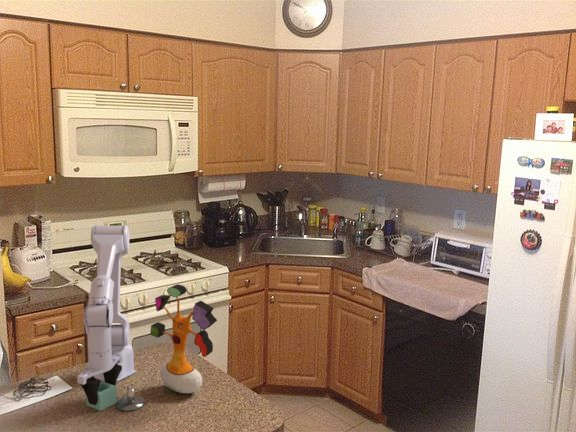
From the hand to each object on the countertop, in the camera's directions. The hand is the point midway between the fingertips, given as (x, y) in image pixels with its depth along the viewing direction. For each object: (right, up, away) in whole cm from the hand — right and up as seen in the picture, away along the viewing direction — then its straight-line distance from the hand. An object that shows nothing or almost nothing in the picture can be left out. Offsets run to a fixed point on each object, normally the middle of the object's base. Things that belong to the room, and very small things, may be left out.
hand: (101, 397), depth 145 cm
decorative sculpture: (+20, -1, +8) cm, 22 cm away
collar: (0, -2, 0) cm, 2 cm away
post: (+8, -2, 0) cm, 8 cm away
